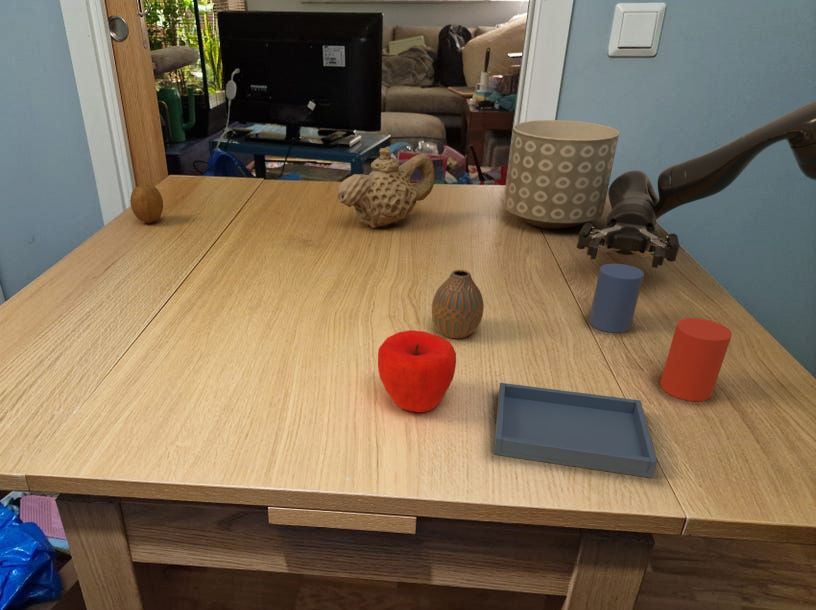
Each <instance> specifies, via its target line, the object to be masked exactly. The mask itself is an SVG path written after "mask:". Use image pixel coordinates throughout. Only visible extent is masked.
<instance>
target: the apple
mask: <svg viewBox="0 0 816 610" xmlns="http://www.w3.org/2000/svg"><path fill="white" fill-rule="evenodd" d="M456 366H457V352H456V350H455V348H454V346H453V344H452V343H451V341H450V340H447V339H445V338H444V337H442V336H439V335H436V334H433V333H430V332H427V331H424V330H412V329H409V330H404V331H403V330H402V331H398V332H396V333H394V334H392V335H390V336H387V337H386V339H385V340H384V341H383V342H382V344H381V345H380V346H379V347H378V352H377V370H378V376H379V379H380V382H381V383H382V385H383V388H384V389H385V391H386V393H387V394H388V395H389V398H390V399H391V400H392V401H393V403H394V404H395V405H396V406H397V407H399V408H400V409H403V410H406V411H409V412H415V413H425V412H431V411H432V410H433V409H435V408H436V407H437V406H438V405H439V404H440V403H441V401H442V400H443V398H444V397H445V395H446V393H447V392H448V390H449V388H450V386H451V384H452V381H453V379H454V376H455V374H456V373H455V372H456Z"/></svg>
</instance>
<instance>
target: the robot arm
mask: <svg viewBox="0 0 816 610" xmlns="http://www.w3.org/2000/svg"><path fill="white" fill-rule="evenodd" d="M782 141H786V142H787V143H788V145H789V148H790V150H791V153H792V155H793V157H794V159H795V161H796V164H797V166H798V168H799V170H800V171H801V173H802V174H803V176H805V177H806V178H807V179H810V180H814V181H816V100H813V101H812V102H811V101H810V102H809V103H807V104H805V105H802V106H801V107H798V108H796V109H794V110H792V111H790V112H788V113H785V114H784V115H782V116H780V117H778V118H776V119H774V120H772V121H769V122H767V123H765V124H763V125H762V126H759V127H757V128H755V129H753V130H752V131H750V132H748V133H746V134H744V135H742V136H740V137H738V138H735V139H734V140H732V141H730V142H728V143H726V144H724V145H722V146H720V147H718V148H716V149H714V150H712V151H709V152H706V153H704V154H702V155H699V156H695V157H693V158H690V159H688V160H685V161H682V162H680V163H677V164H674V165H671V166H669V167H667V168H665V169H663V170H662V171H661V172H660V174H659V175H658V178H657V192H656V190H655V188H654V186H653V184H652V182H651V179H650V177H649V176H648V174H647V173H645V172H643V171H642V170H637V169H633V170H628V171H625V172H622V173H621V174H620V175H618V176H617V177H615V179H614V180H613V181H612V182H611V184H610V185H609V187H608V191H607V195H608V200H609V204H610V207H611V211H610V212H609V213H608V215H607V218H606V223H605V226H604V227H602V228H601V229H596V228H595V226H593V224H592V223H590V222H585V223H583V224H584V225H583V226H582V227H581V229H580V230H579V233H578V241H577V244H576V249H578V250H585V248H587V251H586V256H590V260H596V259H597V256H598V252H602V253H604V254H605V253H609V252H612V251H613V252H615V253H616V254H619V255H622V256H623V255H624V256H632V255H638V256H640V257H641V258H643V259H652V260H651V268H652V269H653V268H654V269H657V268H658V266H663V265H664V261H665V259H666V261H668V262H671V263H672V262H676V260H677V256H678V253H679V249H680V242H679V238H678V237H679V236H678V234H677V233H669V234H668V235H666V236H665V237H659V235H658V234H657V233H656V226H657V220H658V219H659V218H661V217H662V216H664V215H666V214H667V213H669V212H671V211H673V210H674V209H676V208H677V209H678V207H681V206H684V205H687V204H690V203H693V202H697V201H699V200H702V199H705V198H709V197H712V196H714V195H716V194H719V193H721V192H722V191H724V190H726V188H728V187H729V186H730V185H732V183H734V181H736V179H737V178H738V177H740V175H741V174H742V173H743V172H744V171H745V169H746V168H747V167H749V165H750V164H751V163H752V162H753V160H754V159H756V158H757V157H758V156H759V155H760V154H761V153H762V152H763V151H765V150H766V149H768V148H769V147H772V146H773V145H775V144H777V143H779V142H782ZM657 193H658V195H657Z"/></svg>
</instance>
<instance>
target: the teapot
mask: <svg viewBox="0 0 816 610" xmlns="http://www.w3.org/2000/svg"><path fill="white" fill-rule="evenodd" d="M378 153H379V157H377V158H376V159H374V160H373V161H372V162H371V163H370V167H371V171H370V172H369V174H362V173H361V174H360V173H359V174H358V173H356V174H355V173H354V174H352V175H351V176H348V177H347V178H345V179H343V181H342V182H341V184H340V185H339V186H338V191H337V198H338V199H339V201H340V204H342V205H344V206H347V207H348V208H351V207H354V210H355V213H356V214H357V216H358V218H360V221H361V224H363V225H365V226H370V227H371V229H376V228H388V227H391V226H394V225H397V224H398V223H399V222H401V221H404V219H406V218H407V217H408V215H409V214H411V213H412V212H413V211H414V207H415V206H416V205H417V202H418V201H419V202H421V201H424V200H425V199H426V198H427V197H428V196H429V195H430V194H431V192H432V190H433V188H434V186H435V181H436V178H435V168H434V163H433V160H432V158H431V156H429V154H427V153H423V152H422V153H419V154H417V155H414V156H412V157H411V158H410V159H408V160H407V161H405V162H403V163H401V165H400V163H399V161H398V159H397V158H396V157H393V156H391V155H392V153H391V147H390V146H386V147H381V148H379V151H378ZM418 170H419V171H420V179H419V181H418V182H416V183H413V184H412V183H411V177H412V176H413V174H414V173H415V172H417V171H418Z"/></svg>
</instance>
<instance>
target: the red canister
mask: <svg viewBox="0 0 816 610" xmlns="http://www.w3.org/2000/svg"><path fill="white" fill-rule="evenodd" d="M674 329H675V330H674V332H673V336H672V340H671V343H670V347H669V351H668V353H667V357H666V360H665V364H664V368H663V371H662V375H661V378H660V381H659V384H660V387H661V390H663V391H664V392H665V393H667V394H668V395H670V396H671V397H674V398H677V399H680V400H683V401H689V402H703V401H707V400H709V399H710V398H711V397H712V396H713V392H714V390H715V387H716V383H717V380H718V378H719V374H720V372H721V369H722V367H723V366H722V365H723V362H724V360H725V357H726V354H727V351H728V347H729V345H730V342H731V338H732V335H733V332H732V331H731V329H729V328H728V327H727V326H726V325H723V324H722V323H719V322H716V321H713V320H710V319H705V318H698V317H688V318H682V319H680V320H679V321H677V323H676V326H675V328H674Z"/></svg>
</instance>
